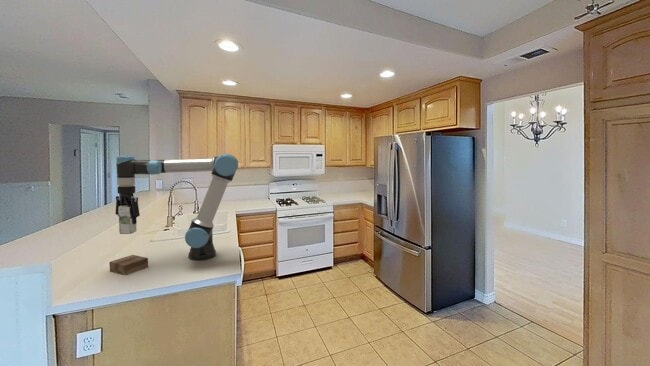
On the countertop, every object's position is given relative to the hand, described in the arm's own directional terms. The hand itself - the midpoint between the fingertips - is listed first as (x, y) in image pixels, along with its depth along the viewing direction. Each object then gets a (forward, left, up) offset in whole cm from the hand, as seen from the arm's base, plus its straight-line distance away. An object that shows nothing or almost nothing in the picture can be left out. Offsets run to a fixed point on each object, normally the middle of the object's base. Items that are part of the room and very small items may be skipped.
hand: (127, 229), depth 145 cm
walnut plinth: (0, 0, -22) cm, 22 cm away
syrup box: (0, 0, -2) cm, 2 cm away
